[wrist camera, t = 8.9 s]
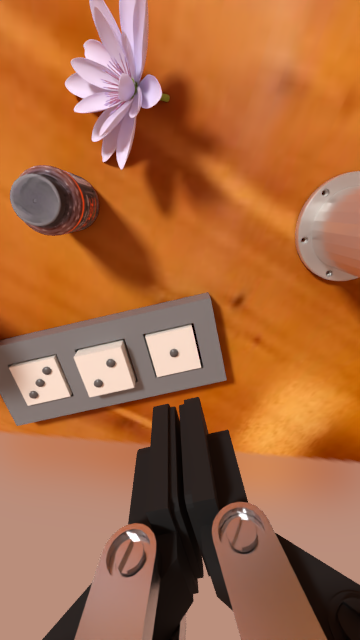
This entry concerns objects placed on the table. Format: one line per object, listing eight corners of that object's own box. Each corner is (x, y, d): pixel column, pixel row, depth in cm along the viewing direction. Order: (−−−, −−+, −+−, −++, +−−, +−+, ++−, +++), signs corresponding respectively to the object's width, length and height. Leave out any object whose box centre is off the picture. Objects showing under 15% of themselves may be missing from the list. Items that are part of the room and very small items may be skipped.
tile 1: (190, 319, 40) (191, 327, 37) (199, 358, 42) (201, 368, 39) (146, 329, 40) (145, 337, 38) (157, 368, 42) (157, 378, 40)
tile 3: (60, 349, 40) (53, 358, 38) (75, 386, 43) (69, 397, 40) (17, 359, 41) (8, 368, 38) (34, 395, 43) (27, 406, 40)
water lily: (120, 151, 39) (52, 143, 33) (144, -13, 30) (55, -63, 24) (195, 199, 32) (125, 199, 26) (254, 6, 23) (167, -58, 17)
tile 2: (123, 338, 39) (120, 347, 36) (136, 377, 41) (134, 388, 39) (78, 348, 39) (73, 358, 37) (93, 387, 41) (89, 398, 39)
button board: (207, 292, 39) (210, 297, 37) (223, 370, 43) (226, 380, 41) (-12, 342, 40) (-23, 351, 38) (24, 414, 44) (17, 425, 42)
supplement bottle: (93, 237, 36) (63, 250, 25) (43, 219, 35) (-10, 225, 24) (106, 186, 34) (80, 177, 24) (54, 166, 33) (1, 147, 23)
